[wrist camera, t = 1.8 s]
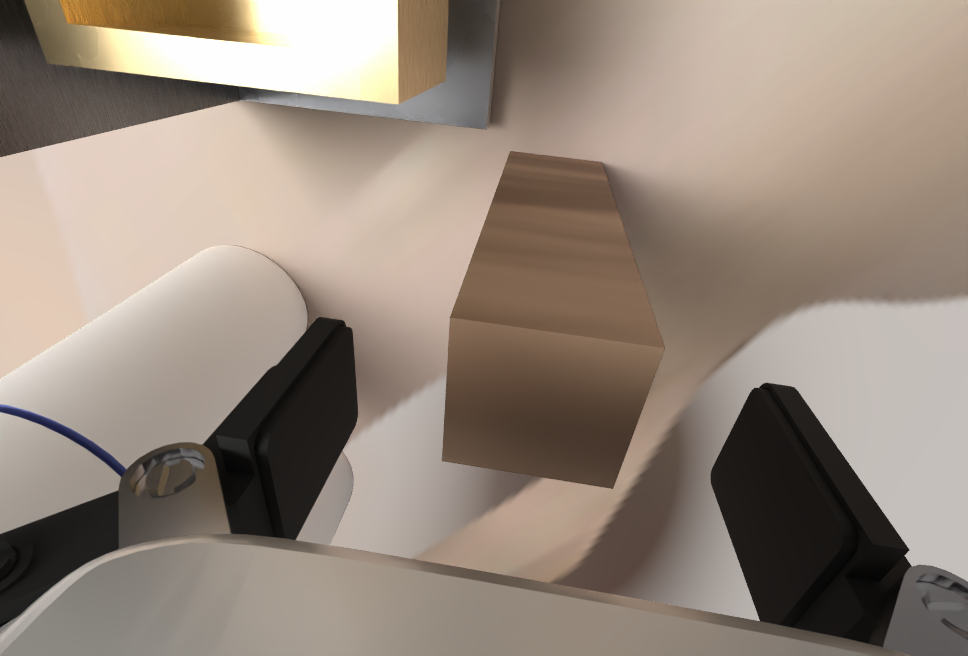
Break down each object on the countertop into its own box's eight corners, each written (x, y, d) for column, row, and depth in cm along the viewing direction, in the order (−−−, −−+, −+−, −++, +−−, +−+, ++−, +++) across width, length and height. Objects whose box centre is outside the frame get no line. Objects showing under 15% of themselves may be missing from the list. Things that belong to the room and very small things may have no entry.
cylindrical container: (323, 287, 26) (-702, 1442, 5) (288, 372, 29) (-369, 1225, 8) (196, 220, 24) (-1944, 1381, 4) (177, 318, 28) (-912, 1159, 7)
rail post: (510, 151, 20) (450, 317, 9) (602, 162, 20) (665, 348, 9) (500, 237, 23) (442, 461, 11) (583, 247, 22) (612, 488, 11)
